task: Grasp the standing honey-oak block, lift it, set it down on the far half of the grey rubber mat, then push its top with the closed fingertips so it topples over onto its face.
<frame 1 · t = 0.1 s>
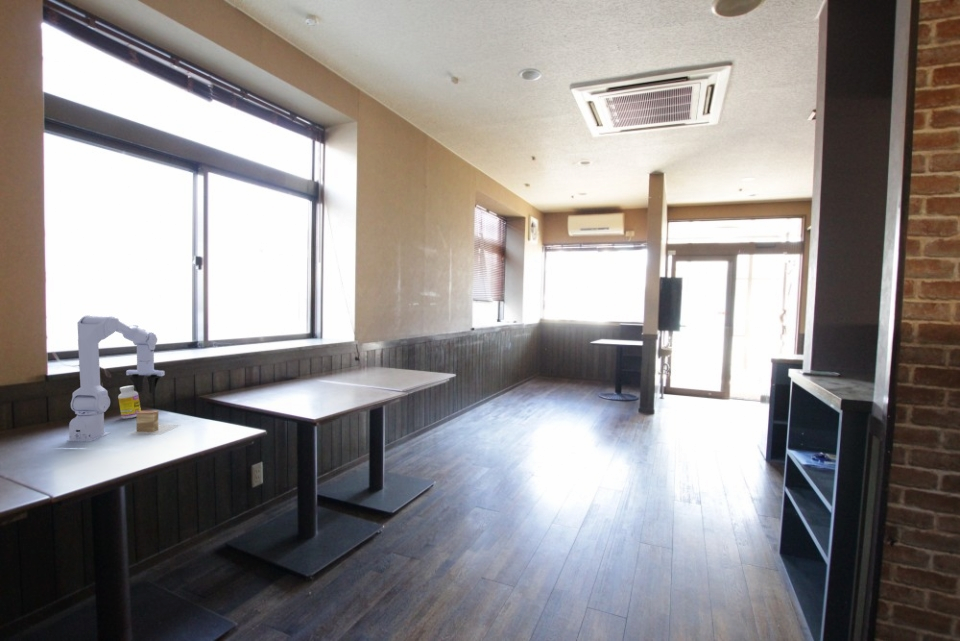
hand: (145, 392, 188), 10 cm above the table, fingers open, 5 cm apart
grey mat: (156, 430, 172), on the table
supplement bottle: (131, 417, 187), on the table, touching gripper
oak block: (147, 430, 170), resting on grey mat
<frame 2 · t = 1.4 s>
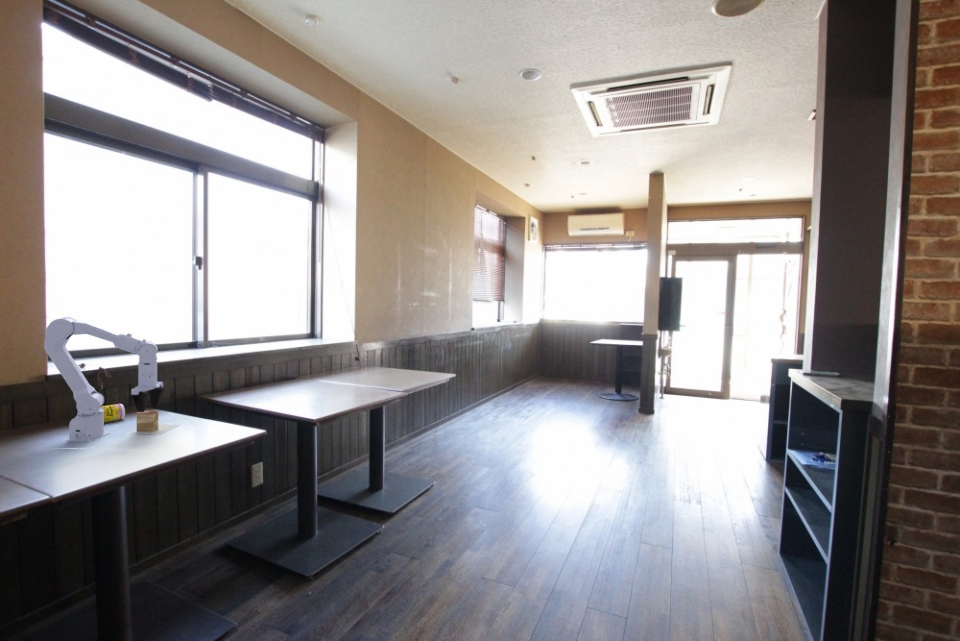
hand: (147, 409, 169), 9 cm above the table, fingers open, 7 cm apart
supplement bottle: (123, 411, 184), point 3 cm above the table
everything else where it was.
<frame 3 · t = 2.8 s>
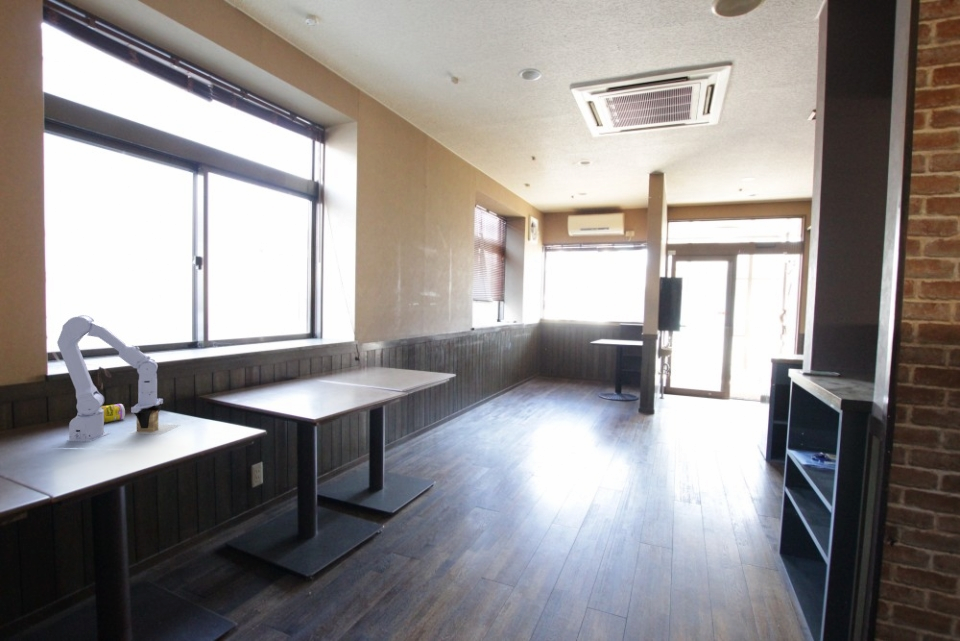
hand: (147, 426, 170), 2 cm above the table, fingers closed on oak block, 3 cm apart
oak block: (147, 430, 170), resting on grey mat, touching gripper
everything else where it was.
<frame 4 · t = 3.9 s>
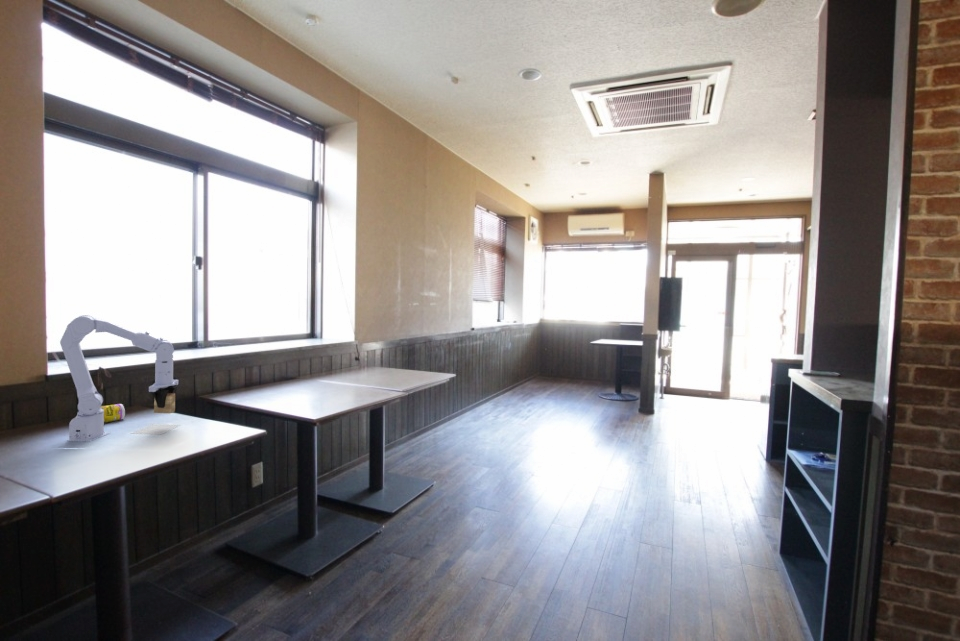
hand: (164, 406, 174), 9 cm above the table, fingers closed on oak block, 3 cm apart
oak block: (164, 412, 174), point 7 cm above the table, touching gripper
everything else where it was.
when the fingers open (2 cm above the table, at t = 5.4 s): oak block stays where it is, resting on grey mat.
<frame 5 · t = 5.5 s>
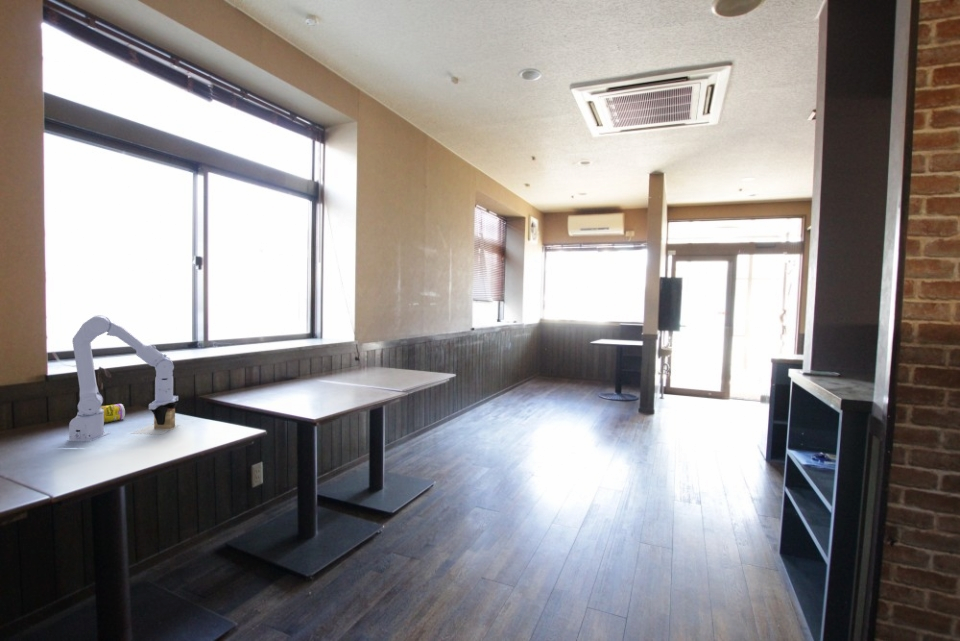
hand: (163, 423, 174), 2 cm above the table, fingers open, 3 cm apart
oak block: (164, 427, 174), resting on grey mat
everything else where it was.
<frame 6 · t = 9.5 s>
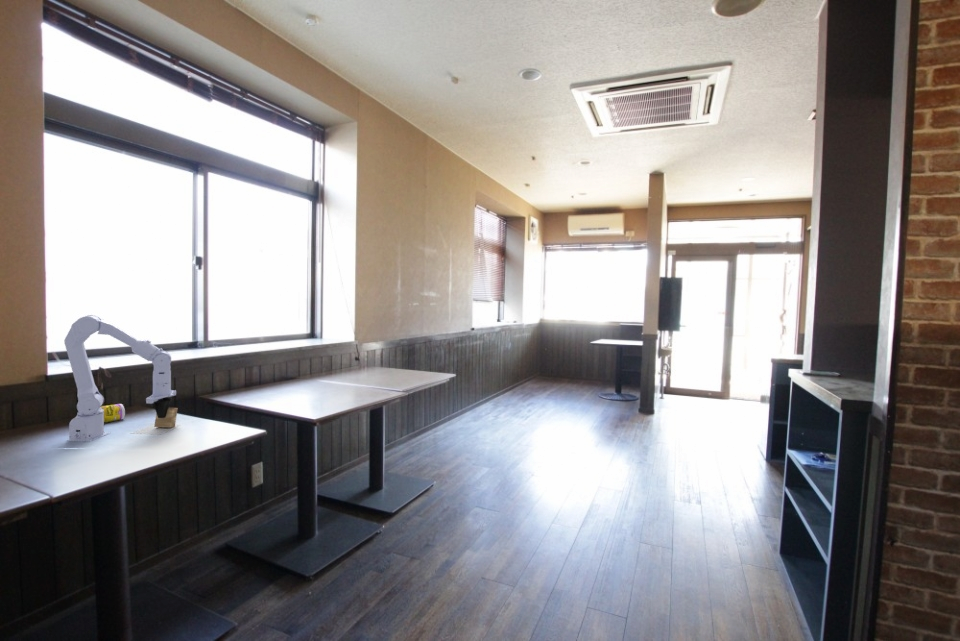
hand: (161, 417, 172), 5 cm above the table, fingers closed
oak block: (164, 426, 174), point 1 cm above the table, tilted 13°, touching grey mat
everything else where it was.
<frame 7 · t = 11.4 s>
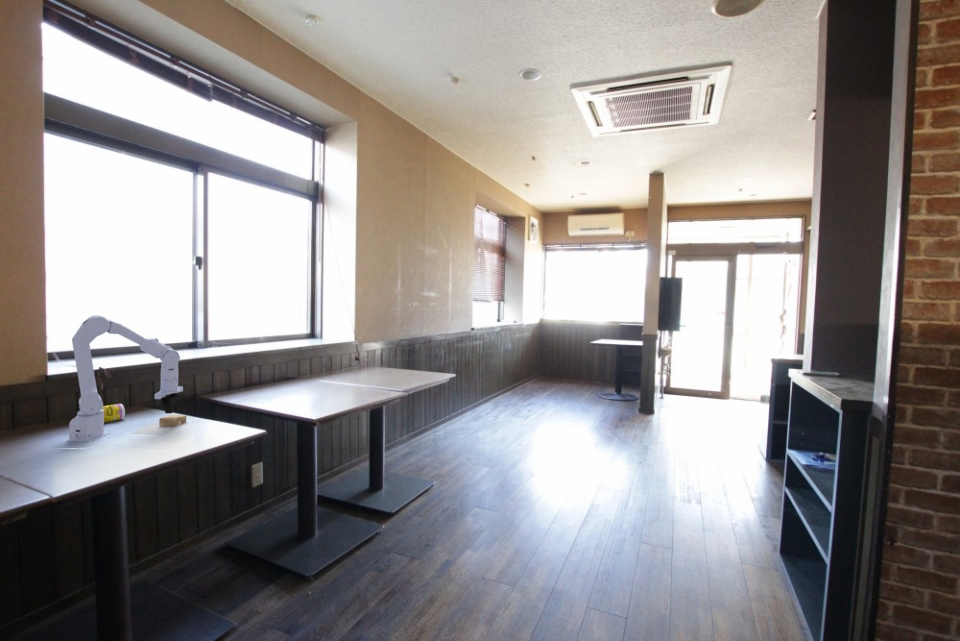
hand: (169, 413, 177), 5 cm above the table, fingers closed
oak block: (167, 422, 176), point 2 cm above the table, tilted 95°, touching grey mat
everything else where it was.
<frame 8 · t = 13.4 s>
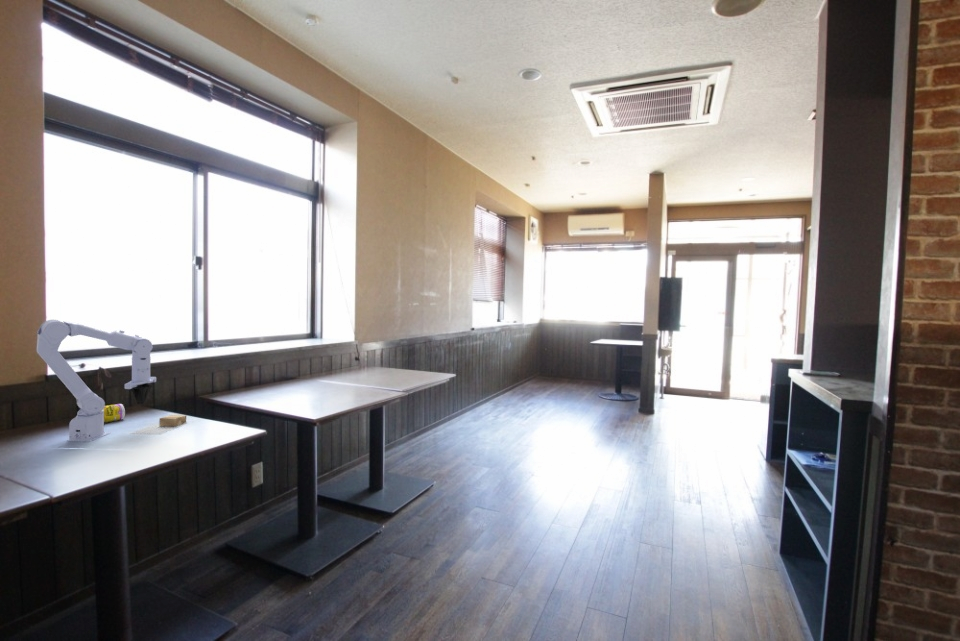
hand: (141, 403, 172), 10 cm above the table, fingers closed
nothing on the table moved.
at the end: oak block tilted 95°; oak block inside the target area (2.4 cm from its centre), point 2.1 cm above the table; the gripper is holding nothing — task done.
